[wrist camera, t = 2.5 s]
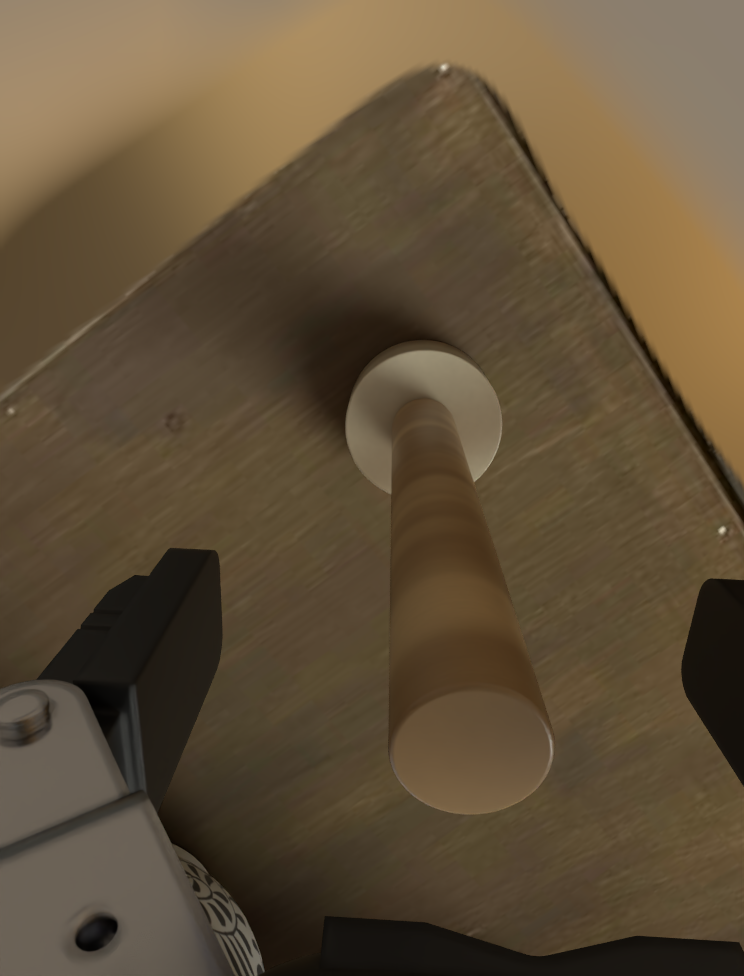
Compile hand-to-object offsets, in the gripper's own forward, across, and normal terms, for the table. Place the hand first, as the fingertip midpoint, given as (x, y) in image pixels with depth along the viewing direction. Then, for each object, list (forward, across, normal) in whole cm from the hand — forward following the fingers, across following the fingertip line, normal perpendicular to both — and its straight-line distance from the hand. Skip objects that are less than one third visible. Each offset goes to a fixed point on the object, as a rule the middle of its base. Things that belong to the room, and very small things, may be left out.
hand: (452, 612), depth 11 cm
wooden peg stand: (+13, 0, 0) cm, 13 cm away
